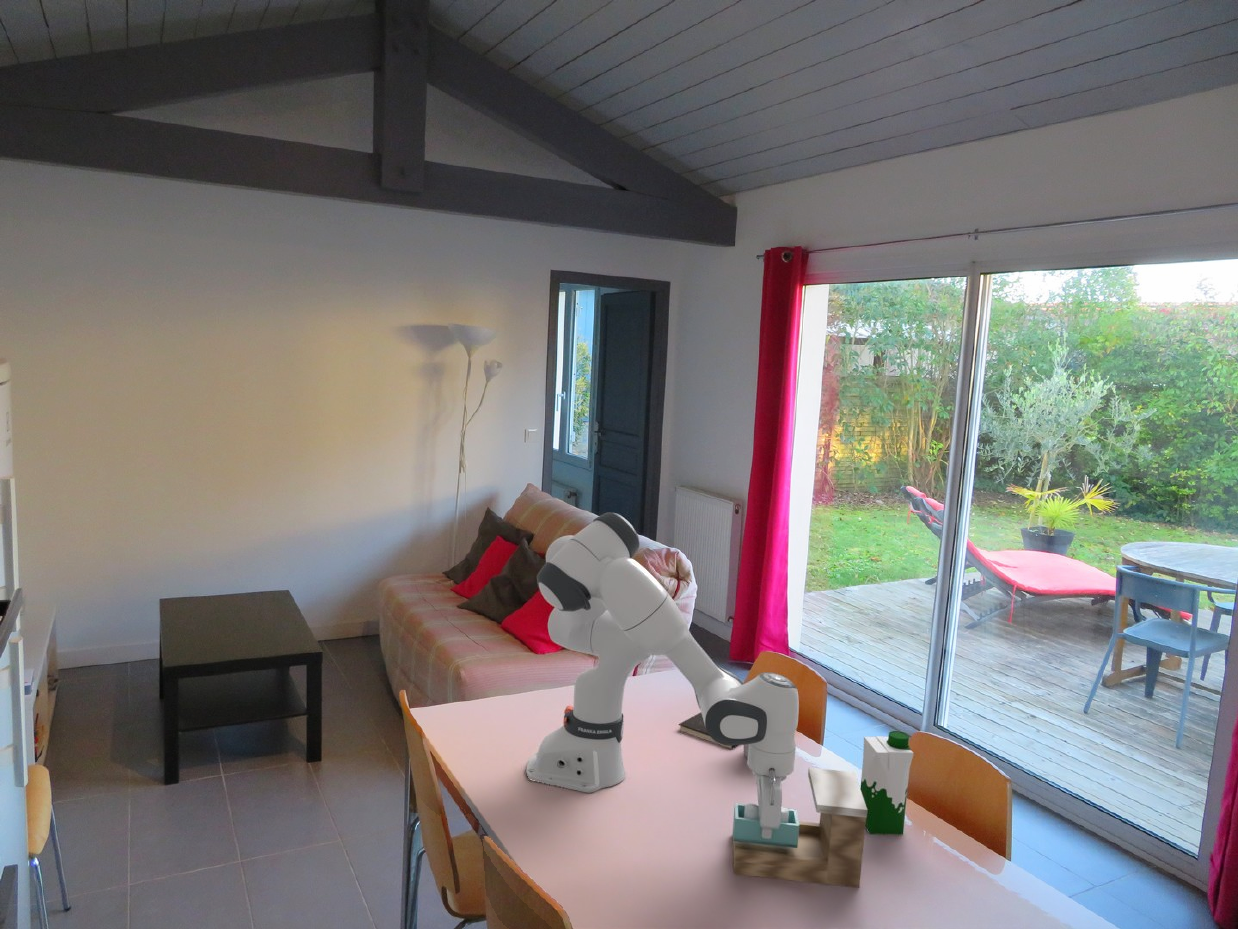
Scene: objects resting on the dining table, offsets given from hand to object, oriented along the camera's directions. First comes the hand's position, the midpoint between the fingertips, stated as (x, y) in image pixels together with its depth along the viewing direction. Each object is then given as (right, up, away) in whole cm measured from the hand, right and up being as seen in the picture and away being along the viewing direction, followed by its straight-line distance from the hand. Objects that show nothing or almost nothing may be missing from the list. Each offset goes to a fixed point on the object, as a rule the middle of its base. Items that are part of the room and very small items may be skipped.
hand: (765, 826), depth 173 cm
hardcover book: (0, 0, +62) cm, 62 cm away
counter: (+5, -7, +1) cm, 9 cm away
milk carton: (+27, -6, +16) cm, 31 cm away
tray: (0, -2, 0) cm, 2 cm away
